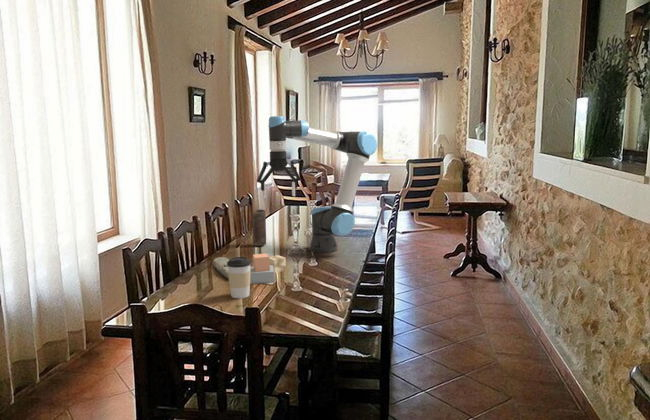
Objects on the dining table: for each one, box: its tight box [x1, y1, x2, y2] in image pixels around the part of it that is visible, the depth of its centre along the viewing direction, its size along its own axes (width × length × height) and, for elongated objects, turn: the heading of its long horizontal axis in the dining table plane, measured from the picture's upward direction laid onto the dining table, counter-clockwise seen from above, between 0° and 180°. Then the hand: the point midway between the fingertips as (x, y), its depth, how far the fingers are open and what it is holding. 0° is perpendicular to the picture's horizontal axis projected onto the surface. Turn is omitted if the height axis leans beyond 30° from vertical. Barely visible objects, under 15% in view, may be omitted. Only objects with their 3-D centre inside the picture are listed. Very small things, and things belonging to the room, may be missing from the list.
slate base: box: [250, 265, 275, 285], centre depth 209 cm, size 10×10×5 cm
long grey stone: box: [212, 256, 230, 279], centre depth 224 cm, size 35×5×10 cm
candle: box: [252, 209, 267, 247], centre depth 270 cm, size 8×7×20 cm
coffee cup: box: [227, 256, 252, 299], centre depth 189 cm, size 9×9×15 cm
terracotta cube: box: [252, 252, 270, 272], centre depth 208 cm, size 6×6×6 cm
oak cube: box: [269, 255, 287, 274], centre depth 223 cm, size 6×6×6 cm
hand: (279, 196), depth 226 cm, fingers open, 13 cm apart
